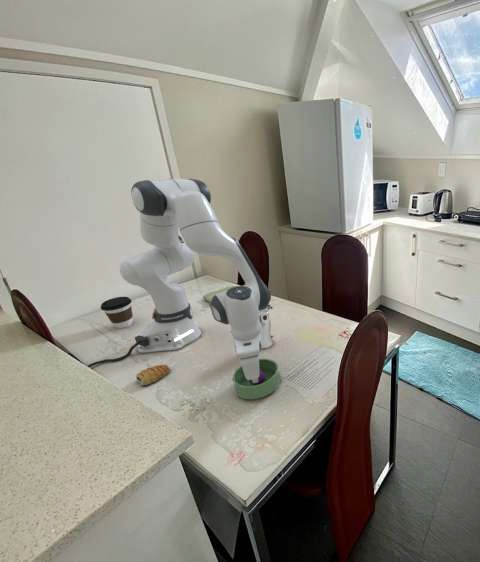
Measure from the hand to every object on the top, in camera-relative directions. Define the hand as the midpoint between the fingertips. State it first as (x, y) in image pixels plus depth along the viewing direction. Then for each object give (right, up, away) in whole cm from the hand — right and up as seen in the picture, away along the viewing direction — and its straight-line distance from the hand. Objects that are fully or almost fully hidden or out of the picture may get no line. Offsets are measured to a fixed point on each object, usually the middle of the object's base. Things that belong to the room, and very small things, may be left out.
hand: (255, 372), depth 103 cm
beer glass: (-5, +4, +24) cm, 25 cm away
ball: (0, -4, +2) cm, 5 cm away
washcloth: (-41, +21, +64) cm, 79 cm away
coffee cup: (-75, +10, +39) cm, 85 cm away
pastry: (-38, -4, +6) cm, 39 cm away
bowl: (0, -5, +2) cm, 6 cm away
